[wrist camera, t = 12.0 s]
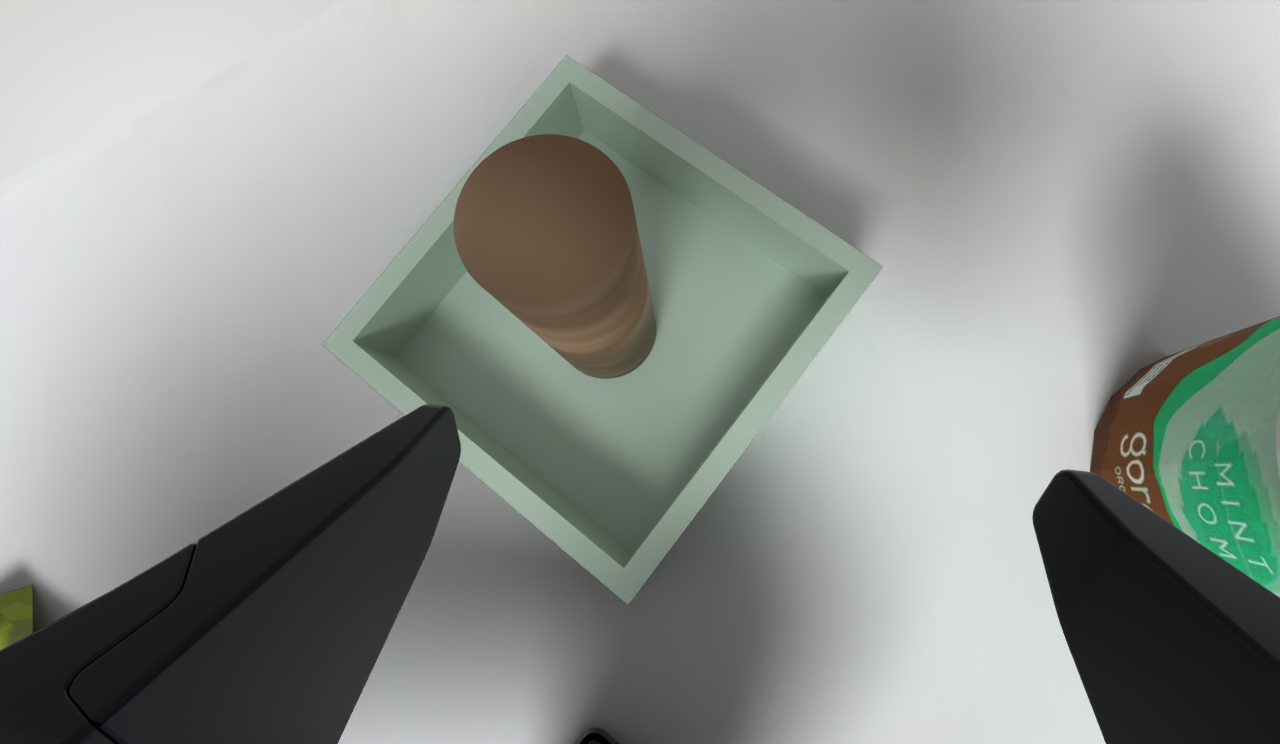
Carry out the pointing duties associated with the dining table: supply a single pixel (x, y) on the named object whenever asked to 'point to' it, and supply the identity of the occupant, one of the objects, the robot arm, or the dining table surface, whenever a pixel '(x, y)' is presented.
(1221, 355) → the food container
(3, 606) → the prepared meal
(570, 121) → the box
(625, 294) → the walnut handle
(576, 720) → the dining table surface
